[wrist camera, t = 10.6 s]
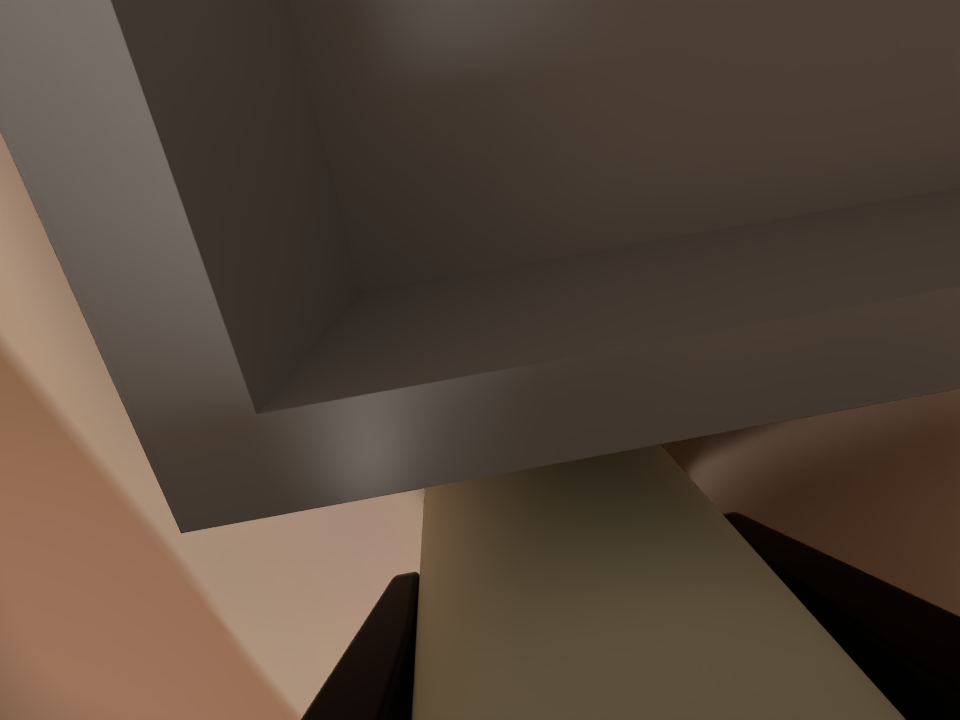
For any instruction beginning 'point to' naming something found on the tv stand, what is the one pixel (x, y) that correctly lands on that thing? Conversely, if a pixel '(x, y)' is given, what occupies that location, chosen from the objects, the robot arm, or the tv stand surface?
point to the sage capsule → (613, 606)
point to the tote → (486, 225)
